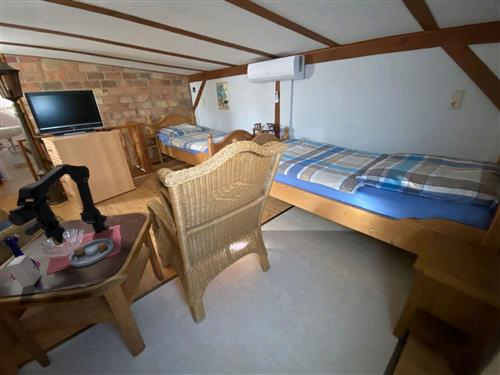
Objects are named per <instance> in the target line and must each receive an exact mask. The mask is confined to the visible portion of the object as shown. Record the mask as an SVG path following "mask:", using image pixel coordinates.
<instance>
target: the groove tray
mask: <svg viewBox="0 0 500 375" xmlns="http://www.w3.org/2000/svg"><path fill="white" fill-rule="evenodd" d="M102 242H106V243H107V246H108V250H106V251H105V252H104V253H100V252H99V250H98V248H97V245H98V244H100V243H102ZM81 246H83V247H84V249H85V251H86V254H85V255H84V256H82V257H76V255H75V254H74V252H71V254H70V255H69V256H68V261H69V265H70V266H73V267H76V268H79V267H84V266H85V267H86V266H89V265H92V264H93V263H96V262H98V261H100V260H102V259H104V257H107V256H108V255H109V254H110V253H111V252H112V251H113V248H114V247H115V245H114V243H113V240H112V238H107V237H101V238H98V239H93V240H91V241H88V242H86V243H84V244H82V245H81Z"/></svg>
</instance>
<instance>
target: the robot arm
mask: <svg viewBox="0 0 500 375" xmlns="http://www.w3.org/2000/svg"><path fill="white" fill-rule="evenodd" d="M65 175H69V177H70V179H71V180H72V181H73V182H74V183H75V184H76V187H77V190H78V194H79V197H80V202H81V204H82V207H83V208H82V212H80V213H79V216H80V219H81V221H82V222H83V223H85V224H87V225H91V226H92V228H93V230H94V233H95V234H100V233H102V232H103V231H107V230H109V228H110V226H109V225H106V221H107V219H108V217H107V215H105V214H101V211H100V209H98V207H96V206H95V203H94V199H93V195H92V192H91V191H92V190H91V189H90V185H89V180H90V177H91V175H90V169H89V167H87V166H86V165H71V164H67V163H64V164H63V163H60V164H57V165H55V167H54V168H52V169H51V170H50V171H48V172H47V173H45V175H43V176H42V177H40V179H37V180H36V181H34V182H31V183H28V184H25V185H24V186H21V187H20V188H19V189H18V197H17V202H16V206H17V207H16V208H13V209H10V210H9V211H8V213H9V214H8V216H7V220H8V221H9V222H10V223H11V225H14V226H16V227H22V226H23V225H25V224H27V223H28V224H27V225H25V226H24V227H22V228H21V231H22V233H23V234H25V236H28V237H32V236H34V234H35V233H37V232H39V231H40V230H41V231H43V234H44V235H45V237H46V239H47V240H48V239H52V238H54V239H55V240H56V241H57V242H58V243H62V239H63V236H64V233H65V232H66V230H65V228H64V226H63V225H61V223H60V221H59V220H58V218H57V217H56V214H55V213H54V211H53V210H52V207H51V206H50V204H49V202H48V201H49V200H51V199H52V197H51V196H47V194H48V193H49V190H50V188H51V187H52V186H53V185H55V184H56V182H58V181H59V180H60V179H62V178H63V177H64V176H65ZM34 219H35V220H34ZM32 220H33V221H32Z"/></svg>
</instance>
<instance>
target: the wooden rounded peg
mask: <svg viewBox="0 0 500 375" xmlns="http://www.w3.org/2000/svg"><path fill="white" fill-rule="evenodd" d="M97 248H98V250H99V252H100V253H104V252H105V251H106V250H108V246H107V243H106V242H102V243H100V244H98V245H97Z"/></svg>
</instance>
